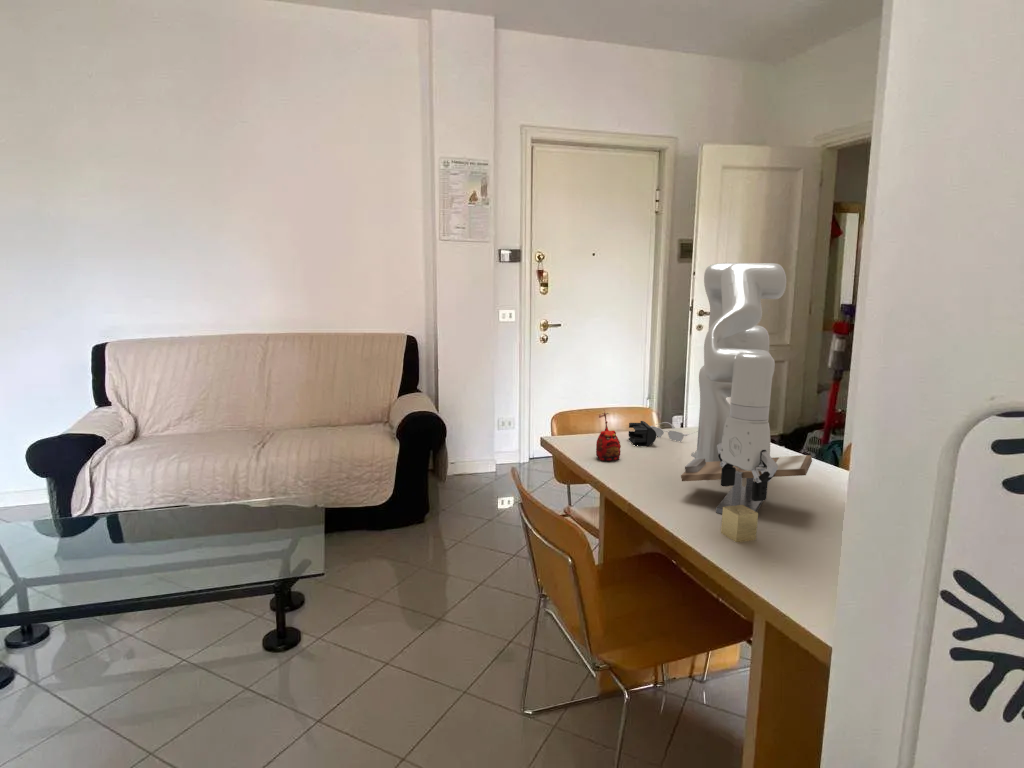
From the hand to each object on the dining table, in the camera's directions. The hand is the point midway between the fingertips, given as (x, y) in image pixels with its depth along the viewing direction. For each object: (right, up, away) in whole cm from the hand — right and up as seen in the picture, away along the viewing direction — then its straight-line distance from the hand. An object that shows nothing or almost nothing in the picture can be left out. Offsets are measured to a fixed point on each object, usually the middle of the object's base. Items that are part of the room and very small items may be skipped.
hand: (742, 492), depth 125 cm
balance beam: (+8, +2, +20) cm, 22 cm away
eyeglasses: (+11, +4, +89) cm, 90 cm away
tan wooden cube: (0, -10, +2) cm, 10 cm away
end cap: (-5, +3, +76) cm, 77 cm away
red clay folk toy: (-19, 0, +57) cm, 60 cm away
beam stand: (+8, -7, +21) cm, 24 cm away
